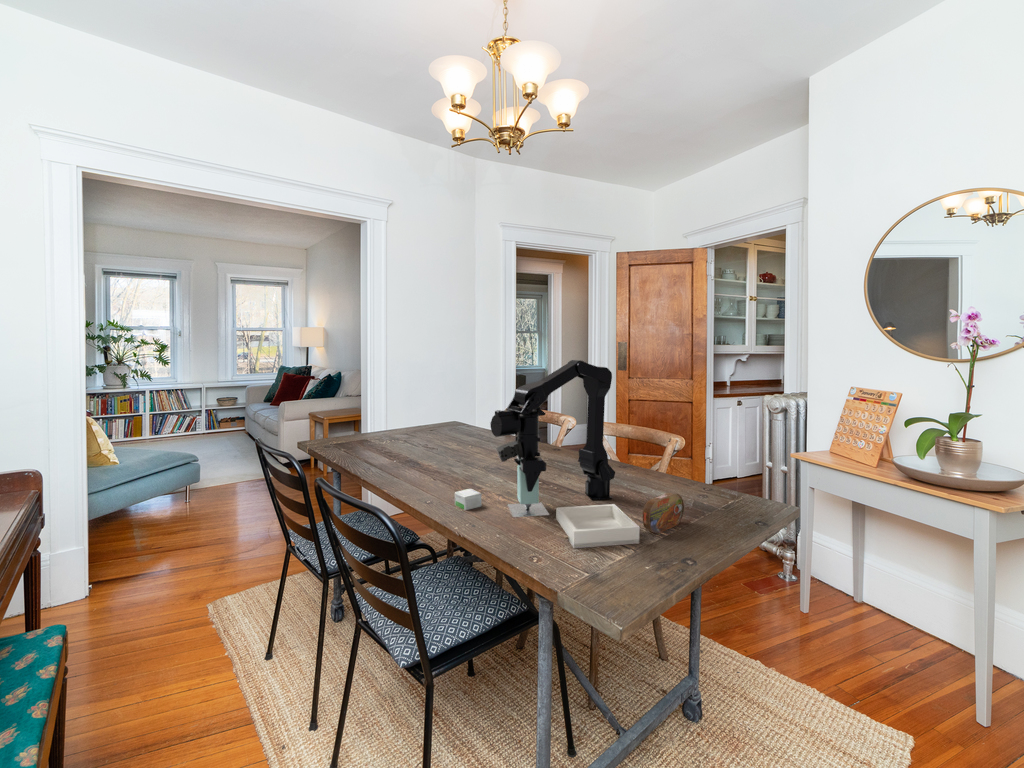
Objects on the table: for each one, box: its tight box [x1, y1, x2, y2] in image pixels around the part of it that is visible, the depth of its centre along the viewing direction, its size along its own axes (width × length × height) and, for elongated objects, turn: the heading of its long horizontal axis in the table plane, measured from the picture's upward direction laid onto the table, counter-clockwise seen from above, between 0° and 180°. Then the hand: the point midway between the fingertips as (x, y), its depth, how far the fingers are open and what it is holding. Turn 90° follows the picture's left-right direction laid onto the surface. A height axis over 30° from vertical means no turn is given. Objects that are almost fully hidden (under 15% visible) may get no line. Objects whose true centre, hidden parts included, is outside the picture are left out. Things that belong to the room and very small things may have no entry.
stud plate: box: [507, 501, 550, 518], centre depth 136 cm, size 10×10×4 cm
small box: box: [454, 488, 482, 511], centre depth 139 cm, size 6×6×5 cm
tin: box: [642, 492, 685, 534], centre depth 125 cm, size 15×3×8 cm, turn 129°
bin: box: [555, 503, 640, 549], centre depth 122 cm, size 16×16×4 cm
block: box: [516, 464, 540, 504], centre depth 135 cm, size 5×5×10 cm
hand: (527, 488), depth 135 cm, fingers closed on block, 5 cm apart
